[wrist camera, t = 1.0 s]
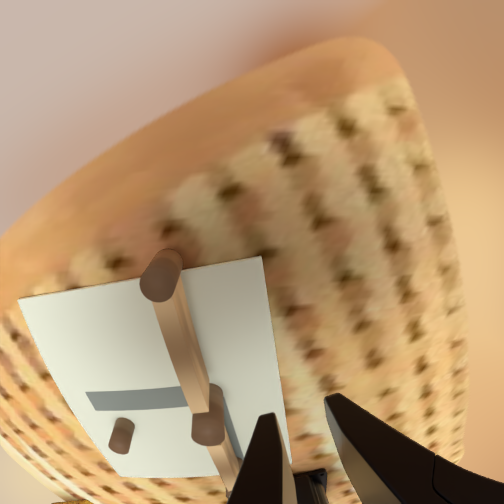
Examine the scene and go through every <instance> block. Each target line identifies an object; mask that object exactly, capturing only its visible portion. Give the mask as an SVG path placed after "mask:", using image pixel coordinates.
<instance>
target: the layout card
mask: <svg viewBox="0 0 504 504" xmlns="http://www.w3.org/2000/svg"><path fill="white" fill-rule="evenodd" d="M180 275H181V280H182V284H183V288H184V292H185V295H186V299H187V303H188V307H189V311H190V314H191V318H192V322H193V325H194V329H195V333H196V336H197V340H198V343H199V347H200V350H201V353H202V357H203V360H204V363H205V367H206V370H207V373H208V376H209V383H213V384H216V385H218V386H219V387H220V388H221V389H222V391H223V403H224V425H225V428H226V431H227V433H228V436H229V439H230V442H231V444H232V447H233V450H234V453H235V455H236V457H239V458H241V459H242V460H243V459H244V456H245V454H246V451H247V448H248V445H249V443H250V440H251V437H252V434H253V431H254V428H255V426H256V423H257V420H258V417H259V416H260V415H262V414H266V413H270V412H274V413H275V414H276V417H277V420H278V423H279V426H280V429H281V433H282V436H283V440H284V444H285V447H286V451H287V455H288V459H289V462H290V464H292V458H291V451H290V444H289V437H288V430H287V423H286V416H285V409H284V402H283V395H282V389H281V382H280V375H279V368H278V361H277V355H276V348H275V341H274V335H273V328H272V321H271V315H270V308H269V302H268V295H267V288H266V282H265V275H264V269H263V263H262V257H261V256H257V257H251V258H246V259H240V260H235V261H229V262H224V263H218V264H212V265H207V266H201V267H196V268H190V269H185V270H182V271H181V274H180ZM140 278H141V277H140ZM140 278H134V279H128V280H123V281H117V282H111V283H105V284H100V285H94V286H88V287H82V288H77V289H71V290H65V291H59V292H54V293H48V294H42V295H36V296H30V297H24V298H19V299H18V303H19V306H20V308H21V311H22V313H23V316H24V318H25V321H26V323H27V325H28V328H29V330H30V332H31V335H32V337H33V339H34V341H35V343H36V346H37V348H38V350H39V352H40V354H41V356H42V358H43V360H44V362H45V364H46V366H47V368H48V370H49V372H50V374H51V375H52V377H53V379H54V381H55V383H56V384H57V386H58V388H59V390H60V392H61V393H62V395H63V397H64V398H65V400H66V402H67V403H68V405H69V407H70V408H71V410H72V411H73V413H74V414H75V416H76V418H77V419H78V421H79V422H80V424H81V425H82V427H83V428H84V430H85V431H86V432H87V434H88V435H89V437H90V438H91V440H92V441H93V442H94V444H95V445H96V446H97V448H98V449H99V450H100V452H101V453H102V454H103V456H104V457H105V458H106V460H107V461H108V462H109V463H110V465H111V466H112V467H113V468H114V470H115V471H116V472H117V473H118V474H119V476H120V477H140V478H180V477H201V476H214V475H220V474H219V472H218V470H217V468H216V466H215V464H214V462H213V460H212V458H211V456H210V454H209V451H208V449H207V447H206V446H203V445H199V444H197V443H196V442H194V441H193V440H192V438H191V429H192V413H191V411H190V408H189V406H188V403H187V401H186V398H185V396H184V393H183V391H182V388H181V386H180V383H179V380H178V378H177V375H176V372H175V370H174V367H173V364H172V361H171V359H170V356H169V353H168V350H167V347H166V344H165V341H164V338H163V335H162V332H161V329H160V326H159V323H158V320H157V317H156V313H155V310H154V307H153V304H152V301H150V300H149V299H147V298H146V297H145V296H144V295H143V294H142V292H141V290H140V285H139V283H140ZM120 417H124V418H127V419H129V420H131V421H132V422H133V423H134V425H135V429H134V433H133V437H132V441H131V445H130V449H129V453H128V454H125V455H122V454H117V453H115V452H113V451H112V450H111V449H110V448H109V447H108V444H109V440H110V437H111V434H112V431H113V428H114V425H115V422H116V419H117V418H120Z"/></svg>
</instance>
